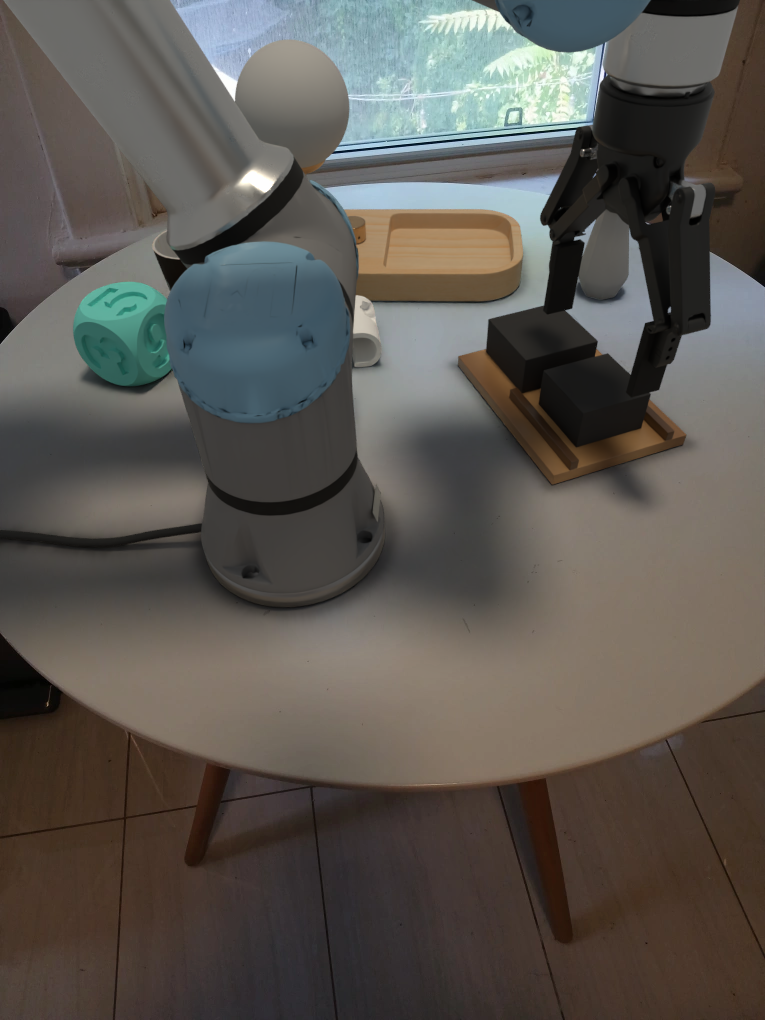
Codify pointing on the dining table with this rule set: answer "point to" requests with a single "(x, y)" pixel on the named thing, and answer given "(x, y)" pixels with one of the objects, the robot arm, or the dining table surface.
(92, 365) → the decorative dice
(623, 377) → the black rectangular block
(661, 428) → the tray
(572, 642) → the dining table surface
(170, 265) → the coffee mug
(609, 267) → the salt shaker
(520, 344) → the pad
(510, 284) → the lamp
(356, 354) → the plastic part
